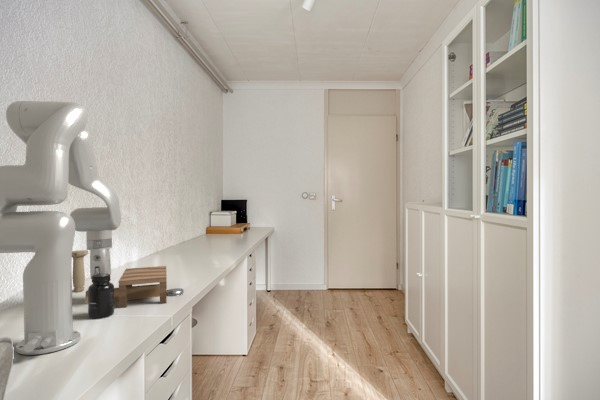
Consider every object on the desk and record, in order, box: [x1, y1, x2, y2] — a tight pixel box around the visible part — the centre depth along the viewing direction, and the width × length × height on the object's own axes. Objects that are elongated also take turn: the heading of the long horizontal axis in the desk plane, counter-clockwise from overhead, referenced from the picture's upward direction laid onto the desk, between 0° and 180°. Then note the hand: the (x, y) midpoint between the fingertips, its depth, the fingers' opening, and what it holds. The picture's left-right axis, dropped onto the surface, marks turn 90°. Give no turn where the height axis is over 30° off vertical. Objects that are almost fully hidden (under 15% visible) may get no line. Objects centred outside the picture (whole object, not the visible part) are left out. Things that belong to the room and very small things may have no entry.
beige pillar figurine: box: [72, 249, 89, 293], centre depth 138 cm, size 5×6×15 cm
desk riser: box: [118, 265, 168, 309], centre depth 128 cm, size 22×14×8 cm, turn 20°
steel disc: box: [166, 287, 185, 297], centre depth 132 cm, size 6×6×2 cm
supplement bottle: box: [87, 274, 115, 319], centre depth 109 cm, size 7×7×12 cm
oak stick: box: [85, 283, 160, 305], centre depth 126 cm, size 2×24×4 cm, turn 109°
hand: (100, 298), depth 124 cm, fingers closed on oak stick, 2 cm apart
